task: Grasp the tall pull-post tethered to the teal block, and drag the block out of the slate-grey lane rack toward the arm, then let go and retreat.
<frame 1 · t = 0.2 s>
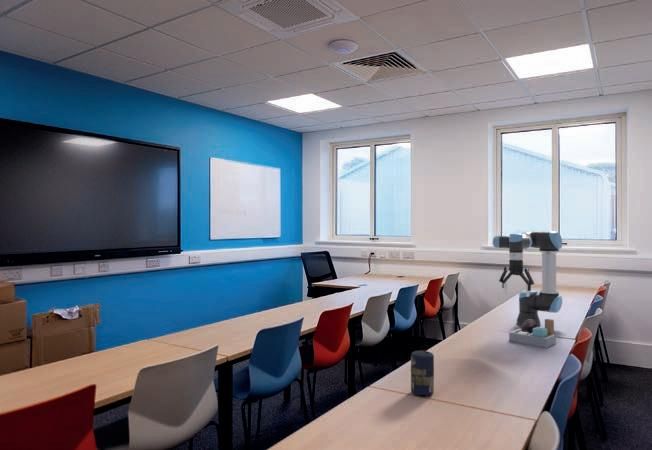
hand: (516, 295, 271), 28 cm above the table, fingers open, 13 cm apart
cream cube: (523, 341, 272), resting in lane rack
lane rack: (532, 341, 269), on the table
canister: (422, 393, 191), on the table
rock: (529, 333, 290), on the table
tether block: (540, 344, 264), on the table
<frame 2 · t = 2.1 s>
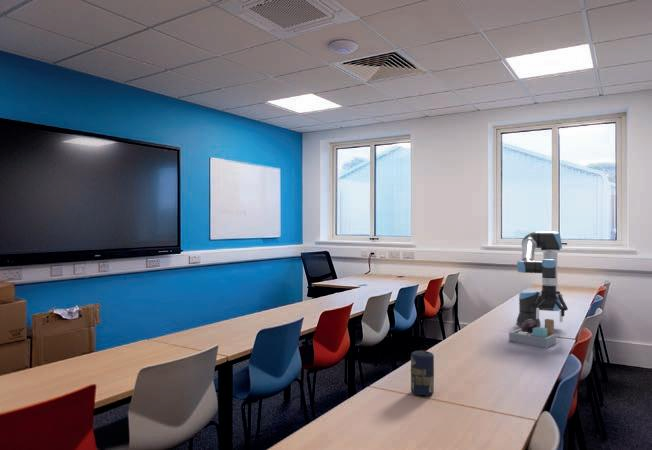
hand: (549, 320, 273), 12 cm above the table, fingers open, 13 cm apart
nothing on the table moved.
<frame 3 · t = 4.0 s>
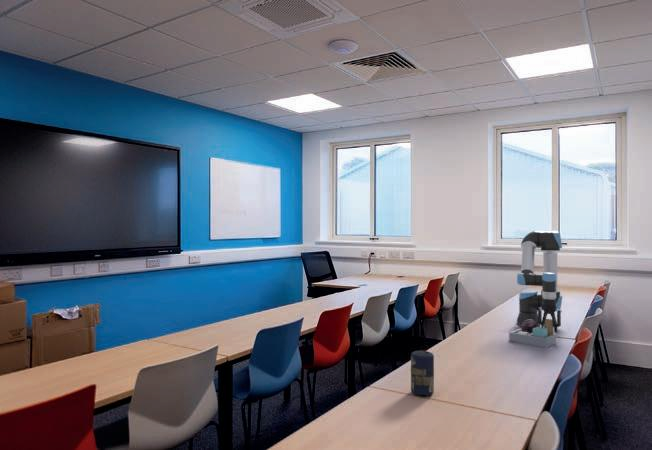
hand: (549, 336, 274), 2 cm above the table, fingers closed on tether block, 5 cm apart
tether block: (540, 344, 264), on the table, touching gripper
everything else where it was.
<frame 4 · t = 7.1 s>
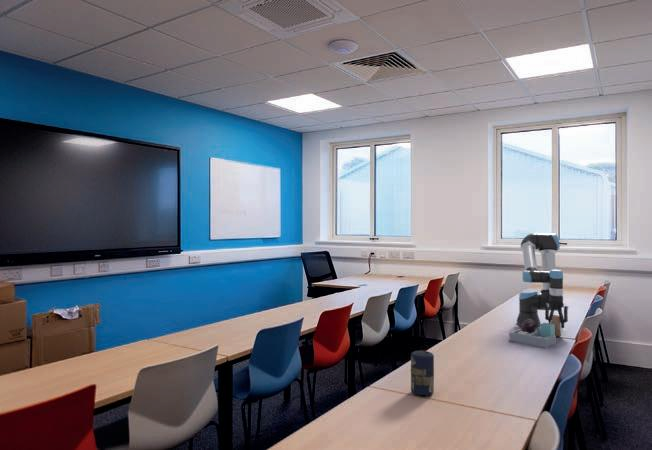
hand: (556, 332, 281), 3 cm above the table, fingers closed on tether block, 5 cm apart
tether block: (547, 339, 272), point 1 cm above the table, touching gripper
everything else where it was.
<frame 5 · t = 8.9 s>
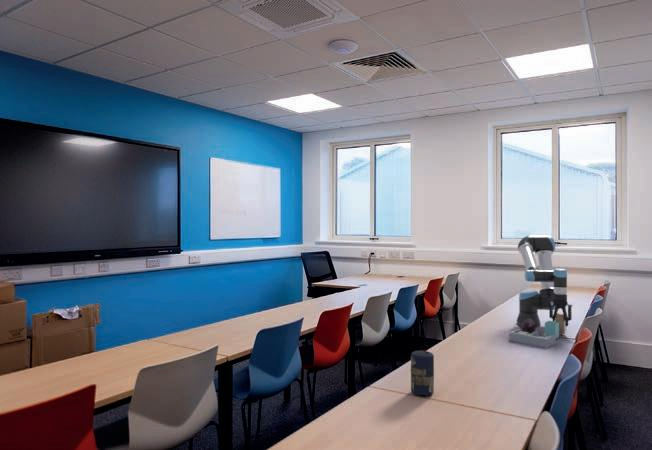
hand: (560, 330, 286), 3 cm above the table, fingers closed on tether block, 5 cm apart
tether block: (552, 337, 276), point 1 cm above the table, touching gripper
everything else where it was.
when the fingers open (3 cm above the table, at t = 10.2 s): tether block stays where it is, on the table.
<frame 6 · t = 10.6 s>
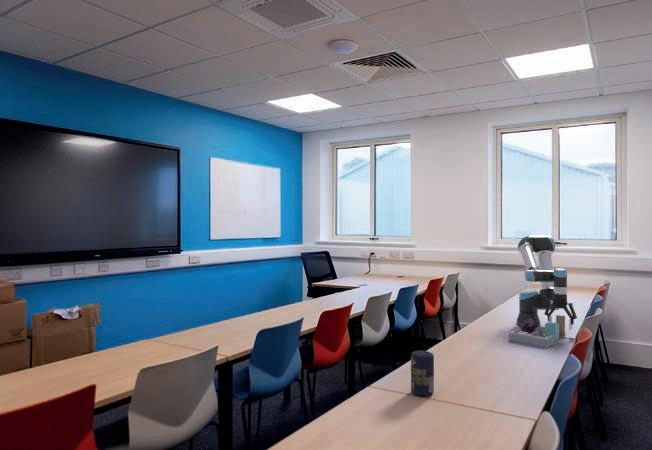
hand: (560, 328, 285), 4 cm above the table, fingers open, 11 cm apart
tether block: (552, 338, 277), on the table
everything else where it was.
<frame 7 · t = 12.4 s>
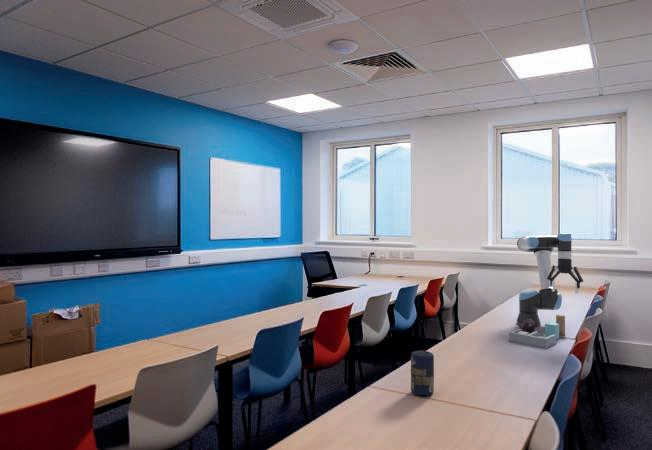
hand: (564, 292, 281), 27 cm above the table, fingers open, 13 cm apart
nothing on the table moved.
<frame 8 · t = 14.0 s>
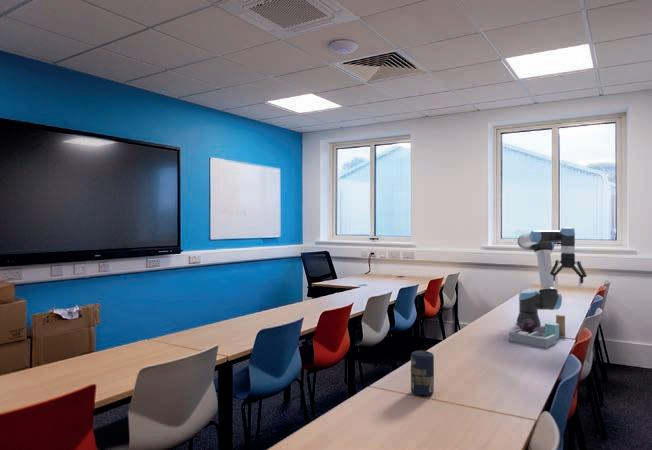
hand: (568, 287, 278), 31 cm above the table, fingers open, 13 cm apart
nothing on the table moved.
at the end: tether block inside the target area (1.0 cm from its centre), on the table; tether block moved 17.8 cm from its start; the gripper is holding nothing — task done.
